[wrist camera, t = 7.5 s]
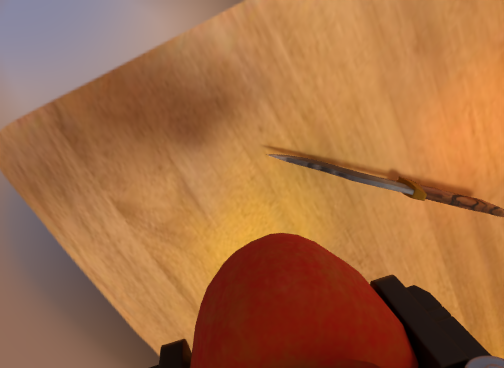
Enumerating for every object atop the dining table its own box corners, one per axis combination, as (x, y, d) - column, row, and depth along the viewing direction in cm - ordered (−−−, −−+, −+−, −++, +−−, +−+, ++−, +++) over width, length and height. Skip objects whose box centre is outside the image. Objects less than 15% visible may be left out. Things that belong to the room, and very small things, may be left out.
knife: (258, 154, 35) (269, 171, 30) (262, 140, 34) (274, 155, 30) (471, 202, 40) (507, 223, 36) (477, 191, 40) (514, 210, 35)
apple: (244, 170, 14) (299, 293, 7) (363, 240, 16) (500, 392, 9) (161, 295, 15) (136, 505, 8) (280, 345, 17) (342, 550, 10)
